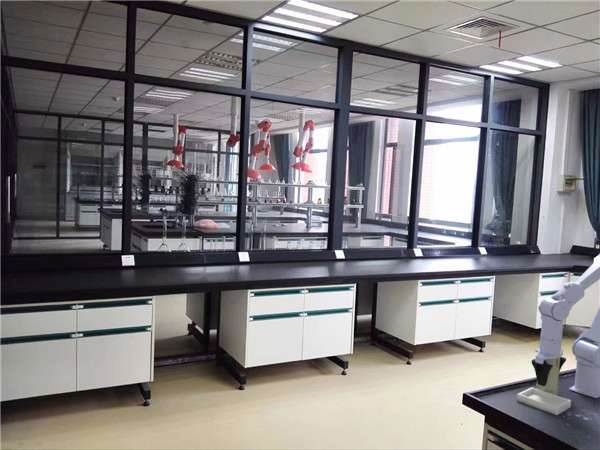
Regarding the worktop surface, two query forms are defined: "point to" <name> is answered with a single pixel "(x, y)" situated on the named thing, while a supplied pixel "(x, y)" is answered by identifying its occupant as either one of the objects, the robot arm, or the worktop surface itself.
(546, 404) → the tray
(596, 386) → the robot arm
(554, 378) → the skincare box
